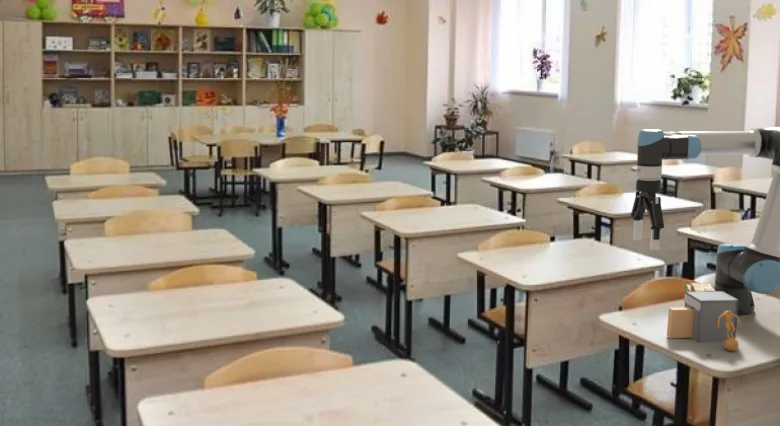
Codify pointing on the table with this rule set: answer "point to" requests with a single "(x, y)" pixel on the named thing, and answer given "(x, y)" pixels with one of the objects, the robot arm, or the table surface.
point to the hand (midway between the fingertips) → (645, 244)
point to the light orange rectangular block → (680, 322)
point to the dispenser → (711, 314)
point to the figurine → (729, 343)
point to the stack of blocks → (698, 287)
